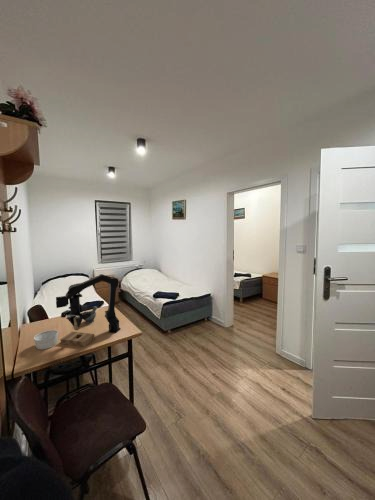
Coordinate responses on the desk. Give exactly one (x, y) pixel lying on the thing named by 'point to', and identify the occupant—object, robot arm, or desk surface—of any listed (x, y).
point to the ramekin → (46, 339)
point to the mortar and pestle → (91, 318)
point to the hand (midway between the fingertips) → (77, 326)
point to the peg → (76, 324)
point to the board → (77, 338)
